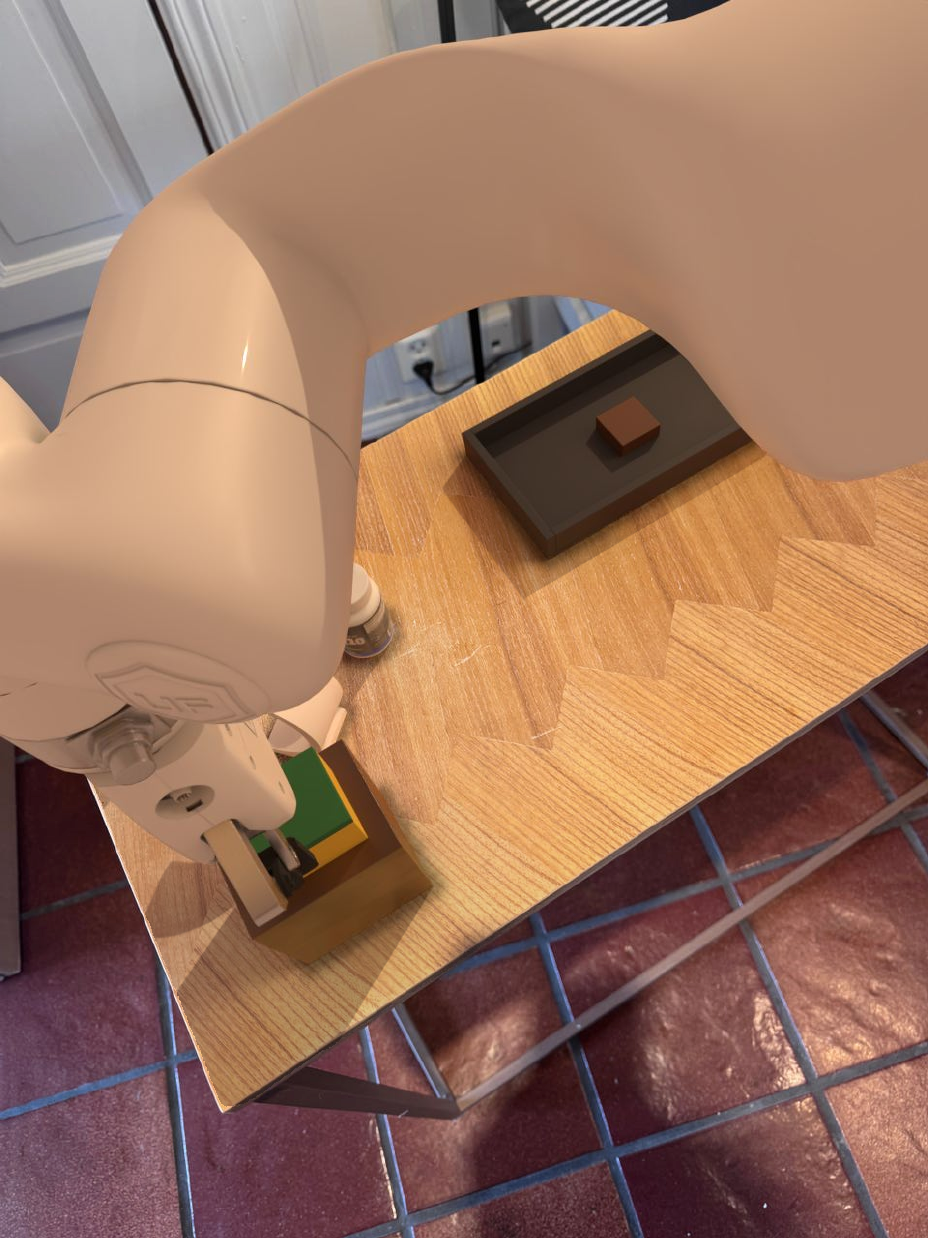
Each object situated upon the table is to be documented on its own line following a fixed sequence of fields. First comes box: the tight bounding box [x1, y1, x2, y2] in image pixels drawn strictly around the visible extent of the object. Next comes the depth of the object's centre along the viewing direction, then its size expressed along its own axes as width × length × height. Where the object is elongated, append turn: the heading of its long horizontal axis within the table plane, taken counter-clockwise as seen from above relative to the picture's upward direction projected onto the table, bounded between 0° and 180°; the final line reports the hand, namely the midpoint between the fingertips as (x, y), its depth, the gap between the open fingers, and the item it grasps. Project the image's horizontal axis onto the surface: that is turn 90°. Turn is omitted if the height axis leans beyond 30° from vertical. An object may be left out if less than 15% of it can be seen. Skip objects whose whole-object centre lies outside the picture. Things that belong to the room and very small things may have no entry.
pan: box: [461, 328, 754, 560], centre depth 77 cm, size 26×14×3 cm, turn 121°
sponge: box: [237, 747, 368, 878], centre depth 51 cm, size 7×5×4 cm
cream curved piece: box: [267, 676, 348, 758], centre depth 64 cm, size 5×6×12 cm
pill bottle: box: [344, 562, 394, 659], centre depth 69 cm, size 5×5×8 cm
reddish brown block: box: [596, 396, 661, 456], centre depth 78 cm, size 4×4×2 cm
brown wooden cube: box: [215, 738, 434, 965], centre depth 58 cm, size 10×8×12 cm
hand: (250, 796), depth 46 cm, fingers open, 9 cm apart
